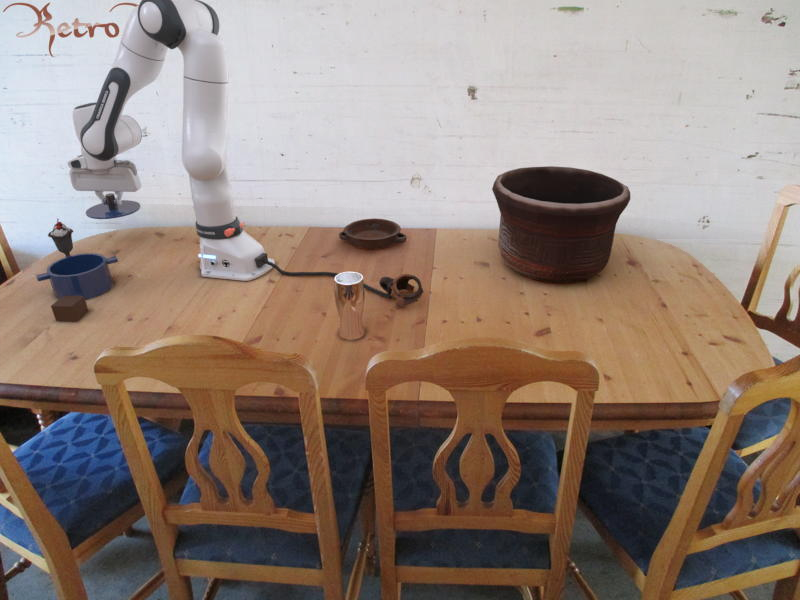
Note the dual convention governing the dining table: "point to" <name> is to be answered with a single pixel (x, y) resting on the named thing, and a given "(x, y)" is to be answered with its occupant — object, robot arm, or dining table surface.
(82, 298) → the brownie
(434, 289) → the dining table surface
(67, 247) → the sundae
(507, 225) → the ceramic pot
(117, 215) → the lid
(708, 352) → the dining table surface
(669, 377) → the dining table surface
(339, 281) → the beer glass
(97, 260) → the pot
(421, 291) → the pottery mug
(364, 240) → the dish
